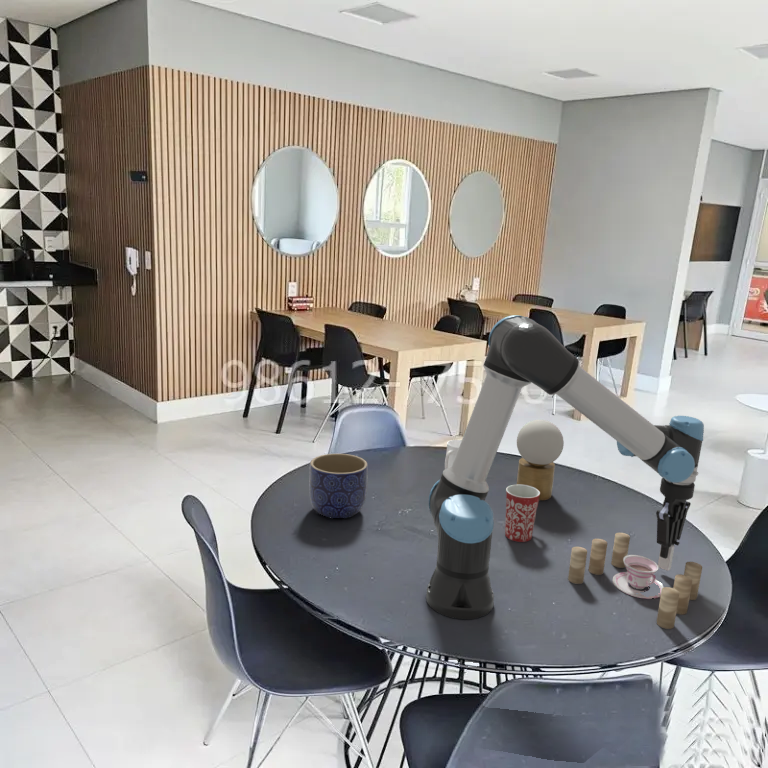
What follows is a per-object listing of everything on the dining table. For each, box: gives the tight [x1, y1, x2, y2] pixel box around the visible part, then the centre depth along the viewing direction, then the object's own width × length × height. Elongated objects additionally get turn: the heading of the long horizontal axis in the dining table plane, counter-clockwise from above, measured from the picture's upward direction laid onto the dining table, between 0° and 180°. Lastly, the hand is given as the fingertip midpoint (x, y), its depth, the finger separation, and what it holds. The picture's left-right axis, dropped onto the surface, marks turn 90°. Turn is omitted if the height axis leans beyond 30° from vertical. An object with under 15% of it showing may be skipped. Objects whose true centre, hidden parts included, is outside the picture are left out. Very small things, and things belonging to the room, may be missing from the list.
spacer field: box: [567, 532, 703, 630], centre depth 164 cm, size 20×27×8 cm
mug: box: [504, 483, 540, 543], centre depth 189 cm, size 13×9×14 cm
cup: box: [444, 439, 462, 470], centre depth 233 cm, size 8×12×10 cm
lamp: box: [515, 419, 565, 502], centre depth 215 cm, size 15×14×25 cm
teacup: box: [612, 554, 665, 600], centre depth 166 cm, size 12×12×6 cm
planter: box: [308, 453, 369, 519], centre depth 198 cm, size 17×16×15 cm
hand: (664, 567), depth 173 cm, fingers closed
